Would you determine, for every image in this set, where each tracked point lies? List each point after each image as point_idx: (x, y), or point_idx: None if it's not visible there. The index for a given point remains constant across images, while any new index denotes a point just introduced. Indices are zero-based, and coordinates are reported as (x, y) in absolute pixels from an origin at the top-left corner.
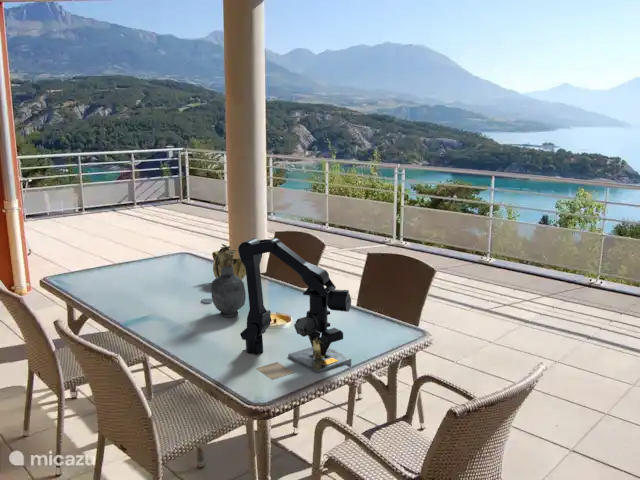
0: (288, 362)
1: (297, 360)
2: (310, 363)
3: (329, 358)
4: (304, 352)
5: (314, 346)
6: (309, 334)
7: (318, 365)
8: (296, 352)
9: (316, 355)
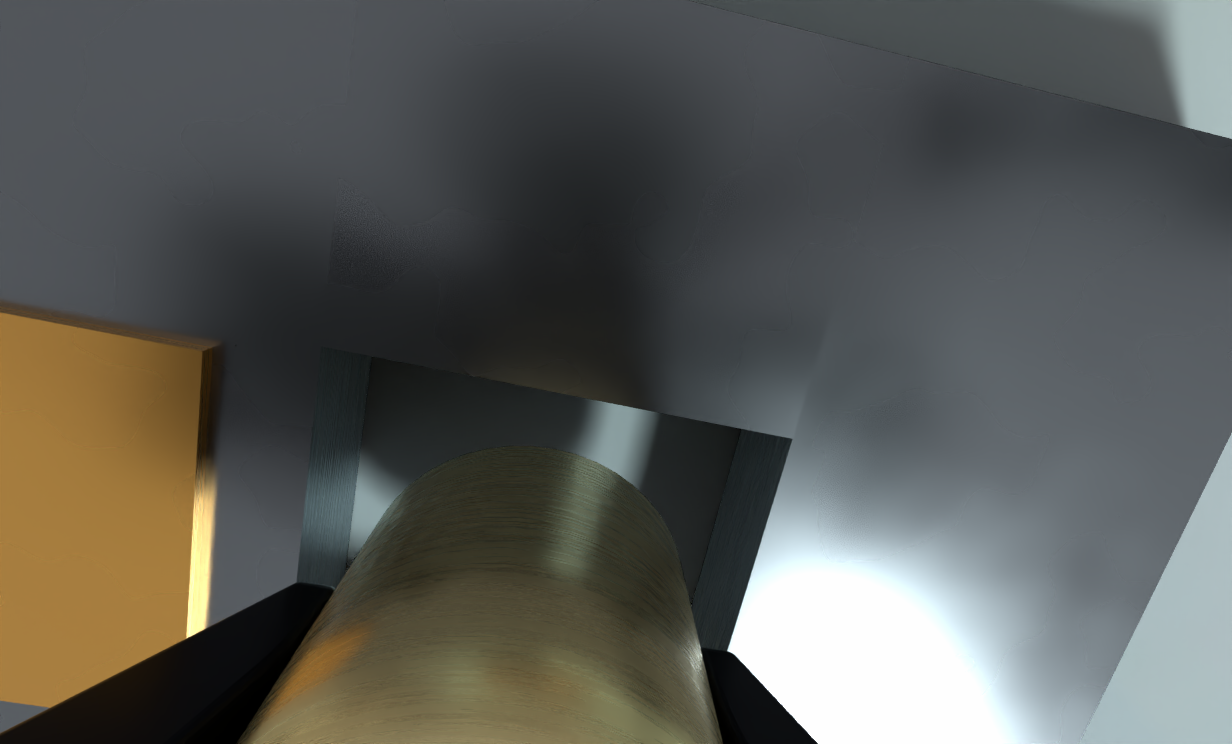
0: (1112, 62)
1: (875, 58)
2: (364, 91)
3: None
4: (999, 541)
5: (484, 716)
6: None
7: (67, 137)
8: (1192, 412)
9: (451, 495)
